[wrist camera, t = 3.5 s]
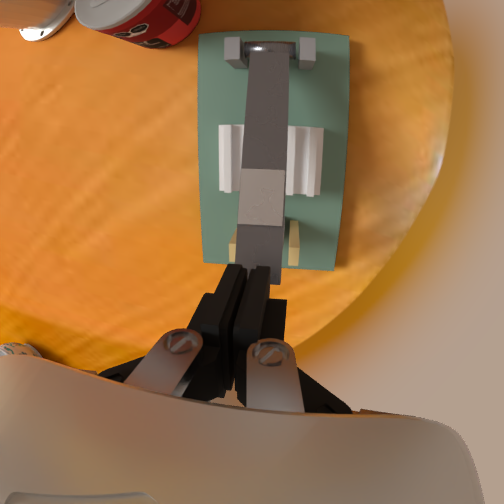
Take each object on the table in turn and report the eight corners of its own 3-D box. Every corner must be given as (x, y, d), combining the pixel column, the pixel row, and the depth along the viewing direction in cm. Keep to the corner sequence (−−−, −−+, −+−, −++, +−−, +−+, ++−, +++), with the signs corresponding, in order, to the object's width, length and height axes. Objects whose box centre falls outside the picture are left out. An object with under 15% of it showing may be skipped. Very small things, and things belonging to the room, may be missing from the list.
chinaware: (23, 364, 54) (7, 383, 47) (4, 319, 48) (-16, 339, 41) (66, 387, 53) (50, 410, 47) (48, 342, 47) (27, 367, 40)
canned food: (122, 29, 23) (59, 8, 14) (172, -21, 20) (125, -63, 11) (163, 64, 25) (105, 46, 15) (218, 11, 22) (183, -34, 12)
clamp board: (203, 37, 24) (174, 14, 16) (346, 39, 22) (364, 14, 15) (207, 256, 34) (185, 294, 27) (332, 264, 32) (341, 306, 25)
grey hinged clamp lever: (247, 49, 21) (244, 36, 19) (295, 49, 20) (295, 36, 18) (229, 279, 21) (224, 281, 19) (287, 283, 20) (288, 286, 19)
